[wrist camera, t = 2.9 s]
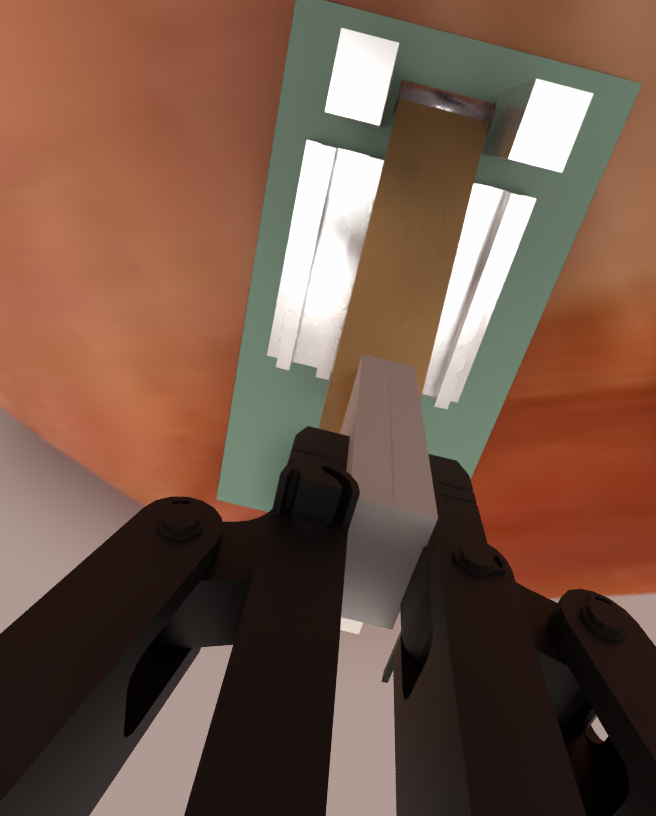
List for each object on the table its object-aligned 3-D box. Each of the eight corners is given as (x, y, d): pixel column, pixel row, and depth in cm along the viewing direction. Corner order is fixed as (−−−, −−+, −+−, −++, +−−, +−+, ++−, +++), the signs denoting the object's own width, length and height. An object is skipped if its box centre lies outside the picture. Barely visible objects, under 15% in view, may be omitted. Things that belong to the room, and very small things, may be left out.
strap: (398, 90, 18) (403, 72, 17) (488, 114, 18) (498, 96, 17) (289, 531, 18) (288, 538, 17) (381, 553, 18) (384, 561, 17)
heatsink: (327, 51, 20) (304, 18, 14) (559, 112, 20) (629, 102, 14) (272, 344, 25) (240, 405, 20) (454, 389, 26) (474, 463, 20)
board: (300, -1, 20) (296, -8, 19) (631, 85, 20) (642, 83, 19) (221, 489, 31) (216, 499, 30) (436, 541, 31) (438, 553, 30)
